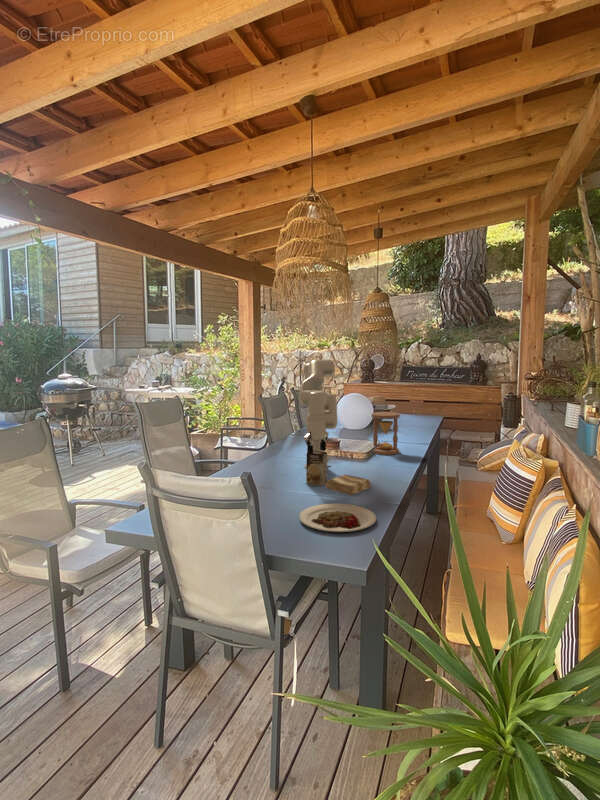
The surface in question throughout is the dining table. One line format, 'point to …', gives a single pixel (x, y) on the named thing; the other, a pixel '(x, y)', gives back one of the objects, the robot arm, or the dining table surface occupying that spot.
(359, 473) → the dining table surface
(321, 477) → the coffee box
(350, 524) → the plated food
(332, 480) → the sliced bread
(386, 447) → the hourglass
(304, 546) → the dining table surface
